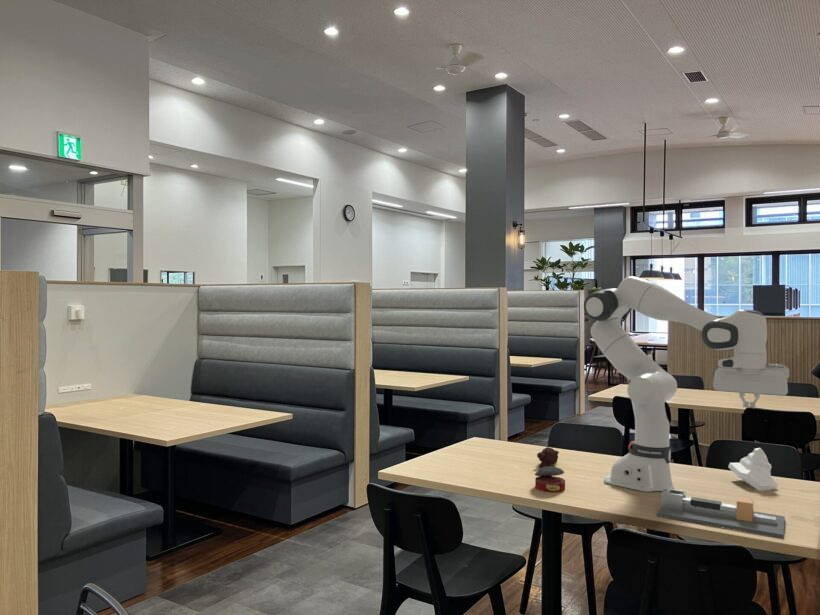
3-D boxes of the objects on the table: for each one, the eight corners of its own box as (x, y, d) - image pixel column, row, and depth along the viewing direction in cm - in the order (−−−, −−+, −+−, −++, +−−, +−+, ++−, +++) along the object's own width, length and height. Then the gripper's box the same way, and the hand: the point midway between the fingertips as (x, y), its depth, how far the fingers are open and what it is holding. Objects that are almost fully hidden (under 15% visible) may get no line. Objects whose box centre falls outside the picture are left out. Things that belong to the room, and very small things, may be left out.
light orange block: (736, 519, 183) (736, 501, 183) (737, 514, 188) (738, 496, 188) (752, 521, 181) (752, 503, 181) (753, 517, 186) (753, 499, 186)
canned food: (536, 503, 214) (523, 475, 216) (549, 493, 222) (536, 466, 224) (564, 494, 207) (550, 465, 209) (576, 484, 215) (563, 456, 217)
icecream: (548, 443, 256) (528, 453, 245) (564, 441, 251) (545, 451, 240) (552, 461, 255) (533, 471, 244) (568, 459, 250) (550, 469, 239)
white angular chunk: (761, 484, 231) (774, 447, 229) (777, 500, 216) (791, 461, 214) (725, 473, 233) (738, 437, 231) (740, 488, 218) (753, 449, 216)
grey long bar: (661, 507, 194) (661, 492, 194) (664, 502, 198) (664, 487, 198) (775, 526, 178) (775, 510, 178) (776, 520, 183) (776, 505, 183)
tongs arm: (673, 502, 193) (673, 496, 193) (674, 500, 196) (675, 494, 196) (751, 515, 182) (751, 509, 182) (752, 512, 185) (752, 506, 185)
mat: (657, 516, 188) (657, 512, 188) (667, 500, 204) (668, 497, 204) (783, 538, 172) (783, 534, 172) (784, 519, 187) (784, 516, 187)
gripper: (789, 363, 194) (788, 409, 194) (715, 359, 204) (714, 403, 204) (789, 365, 188) (788, 412, 188) (712, 361, 199) (711, 405, 199)
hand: (749, 407), depth 196 cm, fingers closed
